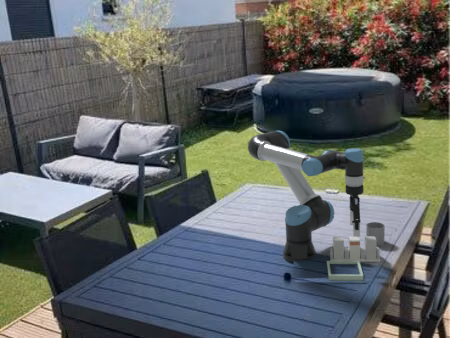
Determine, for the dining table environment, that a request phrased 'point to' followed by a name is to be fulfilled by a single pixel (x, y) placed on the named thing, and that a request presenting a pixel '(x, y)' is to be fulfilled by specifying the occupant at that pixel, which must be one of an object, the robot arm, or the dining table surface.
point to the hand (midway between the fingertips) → (354, 230)
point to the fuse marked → (354, 248)
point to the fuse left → (338, 247)
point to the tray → (344, 276)
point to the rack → (362, 259)
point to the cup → (376, 231)
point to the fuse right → (370, 247)
